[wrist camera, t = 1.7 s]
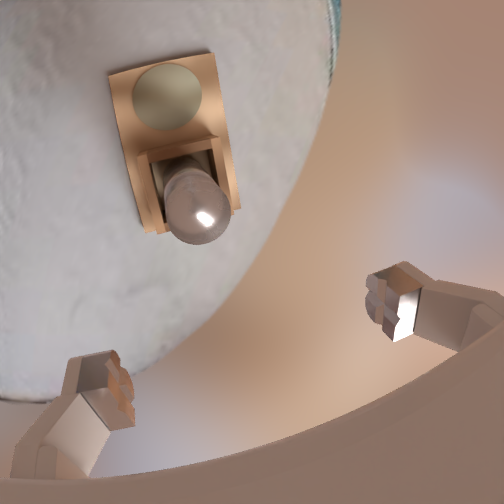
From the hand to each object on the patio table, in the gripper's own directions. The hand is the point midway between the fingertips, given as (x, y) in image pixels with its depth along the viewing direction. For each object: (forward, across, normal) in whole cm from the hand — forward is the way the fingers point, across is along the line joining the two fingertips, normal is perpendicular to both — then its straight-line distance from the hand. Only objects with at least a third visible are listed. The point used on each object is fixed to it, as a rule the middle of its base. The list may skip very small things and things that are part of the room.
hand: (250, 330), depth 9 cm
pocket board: (+24, 0, -4) cm, 25 cm away
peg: (+23, 0, 0) cm, 23 cm away
